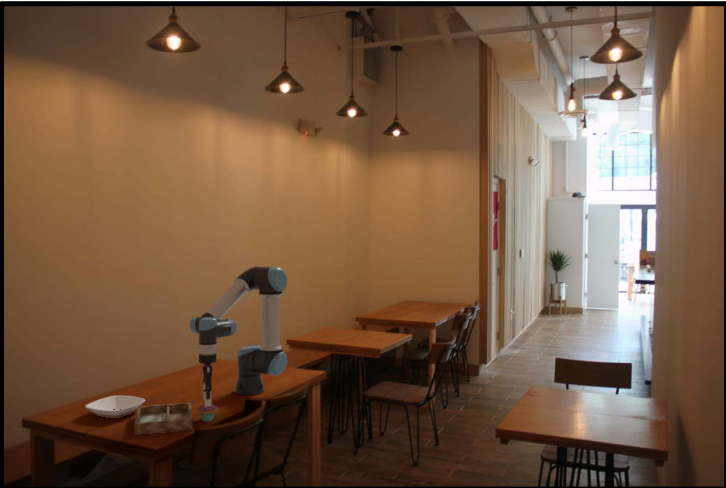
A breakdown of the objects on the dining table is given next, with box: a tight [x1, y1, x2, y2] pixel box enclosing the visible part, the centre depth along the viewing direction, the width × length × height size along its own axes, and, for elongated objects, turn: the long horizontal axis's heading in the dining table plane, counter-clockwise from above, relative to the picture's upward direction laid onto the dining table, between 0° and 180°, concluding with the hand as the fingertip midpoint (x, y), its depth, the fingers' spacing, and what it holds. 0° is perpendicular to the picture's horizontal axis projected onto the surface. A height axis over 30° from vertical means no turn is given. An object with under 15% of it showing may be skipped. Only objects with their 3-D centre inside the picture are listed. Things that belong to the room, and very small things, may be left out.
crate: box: [133, 402, 193, 435], centre depth 249 cm, size 22×24×5 cm
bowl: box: [84, 395, 146, 419], centre depth 262 cm, size 22×22×5 cm
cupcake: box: [197, 394, 219, 423], centre depth 255 cm, size 9×8×12 cm
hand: (207, 401), depth 255 cm, fingers open, 13 cm apart
